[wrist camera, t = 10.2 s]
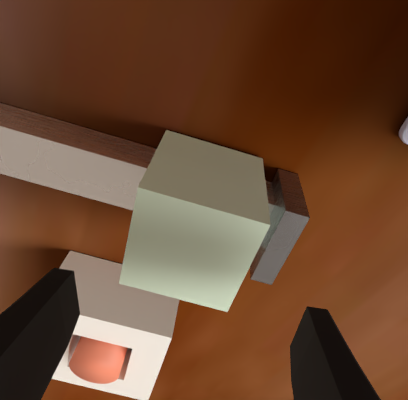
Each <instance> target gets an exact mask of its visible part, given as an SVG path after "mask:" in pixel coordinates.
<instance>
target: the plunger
mask: <svg viewBox="0 0 408 400" xmlns="http://www.w3.org/2000/svg"><path fill="white" fill-rule="evenodd" d="M127 349H128V348H127V347H123V346H119V345H115V344H111V343H107V342H103V341H99V340H95V339H91V338H87V337H83V336H81V337H80V339H79V342H78V344H77V346H76V348H75V351H74V353H73V355H72V357H71V359H70V362H69V367H70V369H71V371H72V372H73V373H74V374H75V375H76V376H78V377H79V378H81V379H83V380H86V381H88V382H92V383H97V384H107V383H112V382H114V381H116V380H117V379H118V378H119V375H120V372H121V368H122V365H123V362H124V358H125V355H126V352H127Z"/></svg>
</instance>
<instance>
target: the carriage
mask: <svg viewBox="0 0 408 400" xmlns="http://www.w3.org/2000/svg"><path fill="white" fill-rule="evenodd" d="M270 225H271V224H270V215H269V206H268V197H267V188H266V180H265V175H264V165H263V158H259V157H256V156H253V155H249V154H246V153H243V152H239V151H236V150H233V149H229V148H226V147H222V146H219V145H216V144H212V143H209V142H206V141H202V140H199V139H196V138H192V137H189V136H186V135H182V134H179V133H175V132H172V131H169V130H166V131H165V133H164V136H163V138H162V140H161V142H160V144H159V146H158V148H157V149H156V151H155V153H154V155H153V157H152V159H151V162H150V164H149V166H148V168H147V170H146V172H145V174H144V176H143V178H142V180H141V182H140V184H139V186H138V189H137V194H136V199H135V204H134V209H133V214H132V219H131V224H130V230H129V235H128V240H127V245H126V250H125V255H124V260H123V265H122V270H121V275H120V280H119V284H122V285H126V286H130V287H134V288H138V289H141V290H145V291H149V292H153V293H157V294H161V295H164V296H168V297H172V298H176V299H180V300H183V301H187V302H191V303H195V304H199V305H203V306H206V307H210V308H214V309H218V310H222V311H226V312H228V310H229V308H230V306H231V304H232V302H233V300H234V298H235V296H236V294H237V292H238V289H239V287H240V285H241V283H242V281H243V279H244V277H245V275H246V273H247V271H248V269H249V267H250V265H251V263H252V261H253V259H254V257H255V255H256V253H257V251H258V249H259V247H260V245H261V243H262V241H263V239H264V237H265V235H266V233H267V231H268V229H269V227H270Z"/></svg>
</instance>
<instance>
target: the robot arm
mask: <svg viewBox="0 0 408 400" xmlns="http://www.w3.org/2000/svg"><path fill="white" fill-rule="evenodd" d="M399 137H400V139H401V140H402V141H403V142H404V143H406V144H407V145H408V117H407V119H406V120H405V122H404V123H403V125H402V126H401V128H400V130H399ZM79 315H80V309H79V302H78V295H77V288H76V282H75V275H74V271H72V270H66V269H59V268H54V269H52V270H51V271H50V272H49V273H47V274H46V275H45V276H44V277H43V278H42V279H41V280H40V281H38V282H37V283H36V284H35V285H34V286H33V287H32V288H31V289H29V290H28V291H27V292H26V293H25V294H24V295H23V296H21V297H20V298H19V299H18V300H17V301H16V302H14V303H13V304H12V305H11V306H10V307H8V308H7V309H6V310H5V311H4V312H2V313H1V314H0V400H41V398H42V396H43V394H44V392H45V390H46V388H47V386H48V384H49V382H50V380H51V379H52V377H53V375H54V373H55V371H56V369H57V367H58V365H59V363H60V361H61V359H62V357H63V355H64V353H65V351H66V349H67V347H68V345H69V342H70V339H71V337H72V334H73V332H74V329H75V326H76V324H77V321H78V318H79ZM290 358H291V381H292V388H293V395H294V400H381V399H380V398H379V396H378V395H377V393H376V392H375V390H374V388H373V387H372V385H371V384H370V382H369V380H368V379H367V377H366V375H365V374H364V372H363V371H362V369H361V367H360V366H359V364H358V362H357V361H356V359H355V357H354V356H353V354H352V352H351V350H350V349H349V347H348V345H347V343H346V342H345V340H344V338H343V336H342V335H341V333H340V331H339V329H338V327H337V326H336V324H335V322H334V320H333V318H332V316H331V315H330V313H329V311H328V310H327V309H320V308H314V307H307V308H306V310H305V312H304V315H303V317H302V319H301V322H300V324H299V327H298V329H297V331H296V334H295V336H294V338H293V341H292V343H291V345H290Z"/></svg>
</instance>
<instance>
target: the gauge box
mask: <svg viewBox="0 0 408 400" xmlns="http://www.w3.org/2000/svg"><path fill="white" fill-rule="evenodd" d="M122 265H123V264H119V263H115V262H111V261H108V260H104V259H100V258H96V257H93V256H89V255H85V254H81V253H78V252H74V251H69V253H68V255H67V256H66V258H65V260H64V261H63V263H62V264H61V266H60V268H59V269H66V270H72V271H74V275H75V282H76V288H77V295H78V302H79V309H80V315H79V318H78V321H77V324H76V326H75V329H74V332H73V334H72V337H71V339H70V342H69V345H68V347H67V349H66V351H65V353H64V355H63V357H62V359H61V361H60V363H59V365H58V367H57V369H56V371H55V373H54V375H53V377H52V379H55V380H59V381H64V382H68V383H72V384H76V385H81V386H85V387H89V388H93V389H97V390H102V391H106V392H110V393H114V394H118V395H123V396H127V397H131V398H135V399H139V400H149V397H150V394H151V392H152V389H153V386H154V384H155V381H156V378H157V376H158V373H159V371H160V368H161V365H162V363H163V360H164V357H165V355H166V352H167V349H168V347H169V344H170V341H171V339H172V334H173V329H174V324H175V319H176V314H177V309H178V303H179V299H176V298H172V297H168V296H164V295H161V294H157V293H153V292H149V291H145V290H141V289H138V288H134V287H130V286H126V285H122V284H119V280H120V275H121V270H122ZM81 336H83V337H87V338H91V339H95V340H99V341H103V342H107V343H111V344H115V345H119V346H123V347H127V348H128V349H127V352H126V355H125V358H124V362H123V365H122V368H121V372H120V375H119V378H118V379H117V380H116V381H114V382H112V383H107V384H97V383H92V382H88V381H86V380H83V379H81V378H79V377H78V376H76V375H75V374H74V373H73V372H72V371H71V369H70V367H69V362H70V359H71V357H72V355H73V353H74V351H75V348H76V346H77V344H78V342H79V339H80V337H81Z"/></svg>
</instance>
